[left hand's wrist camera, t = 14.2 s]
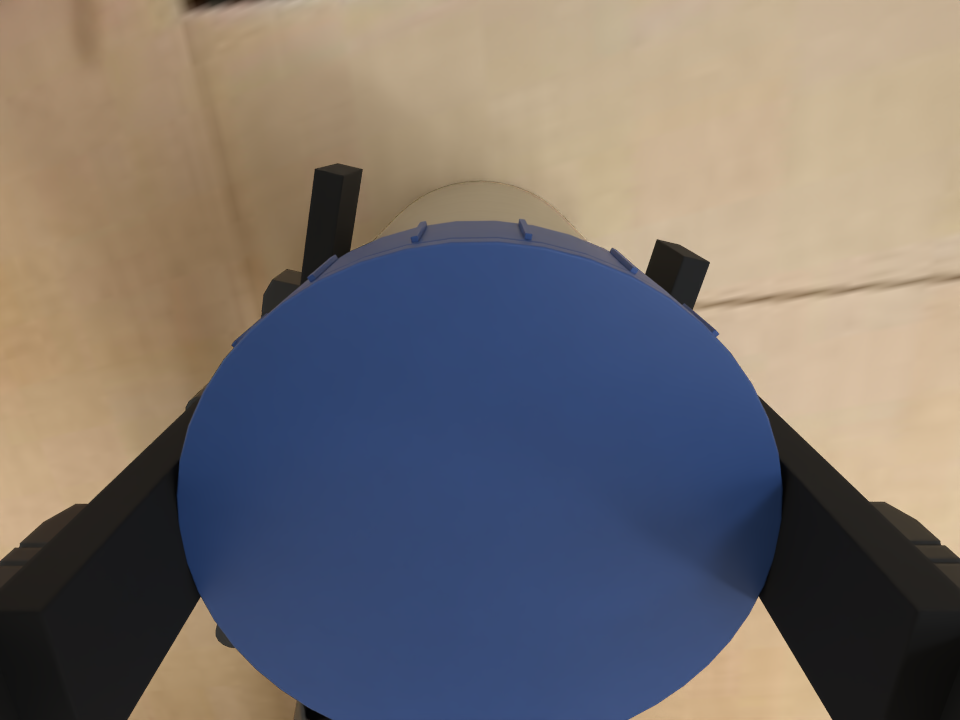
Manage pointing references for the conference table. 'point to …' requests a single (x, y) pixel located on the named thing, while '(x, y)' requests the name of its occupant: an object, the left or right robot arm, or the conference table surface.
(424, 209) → the jar
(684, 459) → the lid
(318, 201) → the right robot arm
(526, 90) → the conference table surface
